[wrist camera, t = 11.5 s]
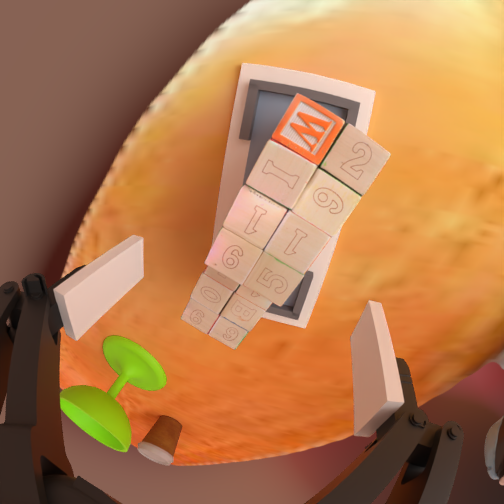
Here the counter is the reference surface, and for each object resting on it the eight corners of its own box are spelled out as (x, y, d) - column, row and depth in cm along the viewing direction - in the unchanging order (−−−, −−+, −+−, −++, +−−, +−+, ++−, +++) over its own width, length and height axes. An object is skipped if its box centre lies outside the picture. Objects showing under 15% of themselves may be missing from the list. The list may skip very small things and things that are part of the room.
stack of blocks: (254, 299, 33) (225, 373, 22) (210, 272, 33) (163, 337, 22) (359, 145, 24) (395, 153, 13) (304, 110, 23) (297, 89, 12)
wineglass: (180, 391, 50) (144, 459, 34) (129, 386, 55) (93, 440, 39) (139, 333, 45) (83, 404, 29) (91, 336, 50) (43, 389, 34)
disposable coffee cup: (148, 408, 58) (128, 443, 47) (179, 415, 55) (160, 454, 45) (163, 427, 61) (147, 459, 51) (193, 434, 59) (177, 469, 48)
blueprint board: (374, 92, 22) (378, 89, 21) (305, 324, 36) (304, 334, 34) (244, 64, 24) (239, 60, 22) (207, 297, 37) (202, 305, 36)
